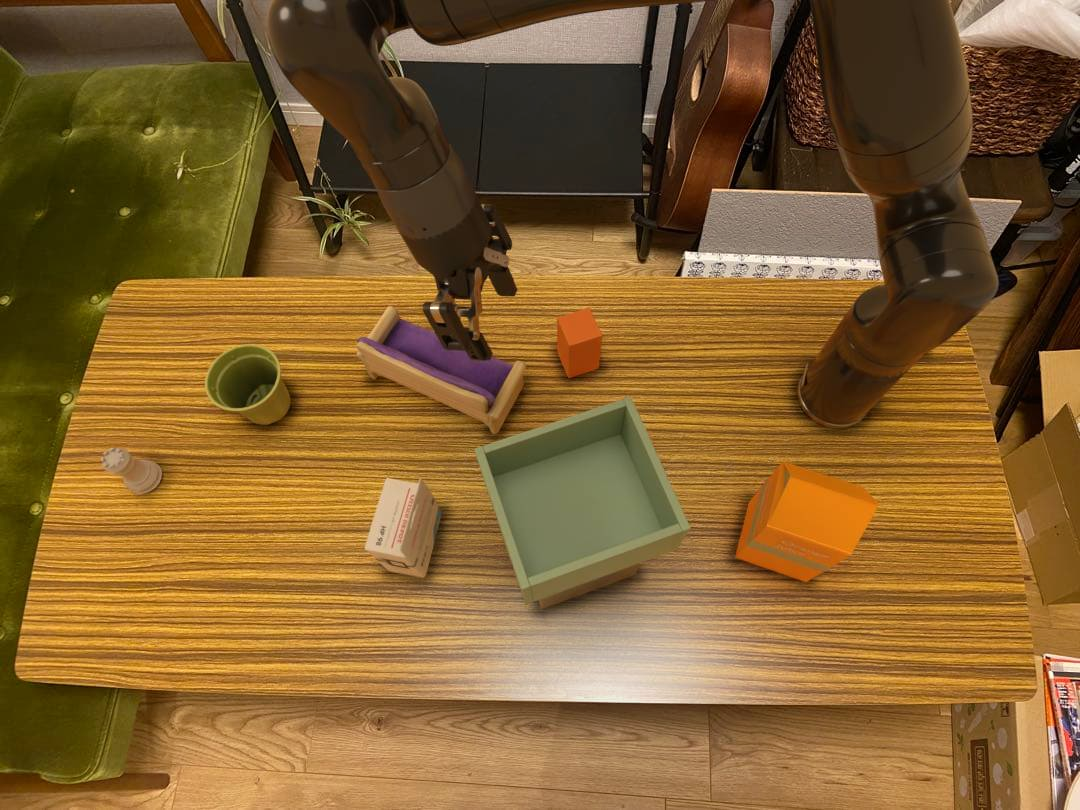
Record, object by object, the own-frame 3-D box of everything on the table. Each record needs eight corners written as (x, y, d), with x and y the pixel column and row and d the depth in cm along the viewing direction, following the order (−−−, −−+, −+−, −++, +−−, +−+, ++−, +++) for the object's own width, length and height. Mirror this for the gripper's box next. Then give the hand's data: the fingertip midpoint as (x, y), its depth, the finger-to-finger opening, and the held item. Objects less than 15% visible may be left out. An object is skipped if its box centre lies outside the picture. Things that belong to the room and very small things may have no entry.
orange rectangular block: (587, 342, 99) (589, 307, 91) (598, 368, 97) (602, 335, 89) (557, 351, 98) (556, 317, 90) (568, 378, 97) (569, 346, 88)
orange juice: (806, 583, 84) (874, 542, 66) (733, 558, 86) (780, 511, 68) (819, 523, 87) (887, 468, 69) (748, 500, 89) (797, 440, 71)
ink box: (406, 505, 89) (379, 465, 76) (443, 512, 89) (423, 473, 76) (386, 571, 86) (355, 542, 73) (425, 579, 85) (400, 551, 72)
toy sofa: (529, 385, 96) (526, 348, 87) (500, 438, 93) (494, 406, 84) (398, 329, 100) (382, 288, 91) (366, 378, 97) (346, 341, 88)
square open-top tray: (624, 428, 74) (630, 395, 67) (677, 549, 68) (691, 528, 61) (482, 476, 72) (473, 448, 65) (525, 604, 66) (521, 589, 59)
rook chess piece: (122, 479, 92) (85, 458, 85) (151, 456, 93) (116, 432, 86) (141, 502, 91) (105, 482, 83) (170, 477, 92) (137, 455, 85)
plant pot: (283, 445, 93) (258, 419, 85) (221, 425, 95) (190, 398, 87) (314, 385, 97) (293, 355, 89) (254, 367, 98) (228, 335, 91)
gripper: (442, 265, 56) (508, 383, 68) (497, 147, 62) (548, 274, 75) (364, 265, 59) (441, 378, 71) (425, 152, 65) (485, 273, 78)
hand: (496, 324), depth 73 cm, fingers open, 8 cm apart
